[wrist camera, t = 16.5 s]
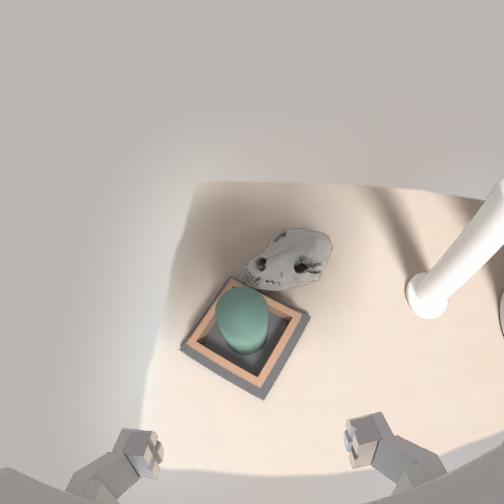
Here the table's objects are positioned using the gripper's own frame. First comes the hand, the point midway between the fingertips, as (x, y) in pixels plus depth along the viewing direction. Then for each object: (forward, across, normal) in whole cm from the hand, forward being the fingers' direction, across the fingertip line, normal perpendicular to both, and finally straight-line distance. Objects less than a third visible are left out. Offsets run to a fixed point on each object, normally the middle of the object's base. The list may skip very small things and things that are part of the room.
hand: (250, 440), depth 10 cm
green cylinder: (+23, +1, +7) cm, 24 cm away
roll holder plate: (+23, +1, +8) cm, 25 cm away
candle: (+25, -25, +7) cm, 36 cm away
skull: (+30, -5, +2) cm, 30 cm away
